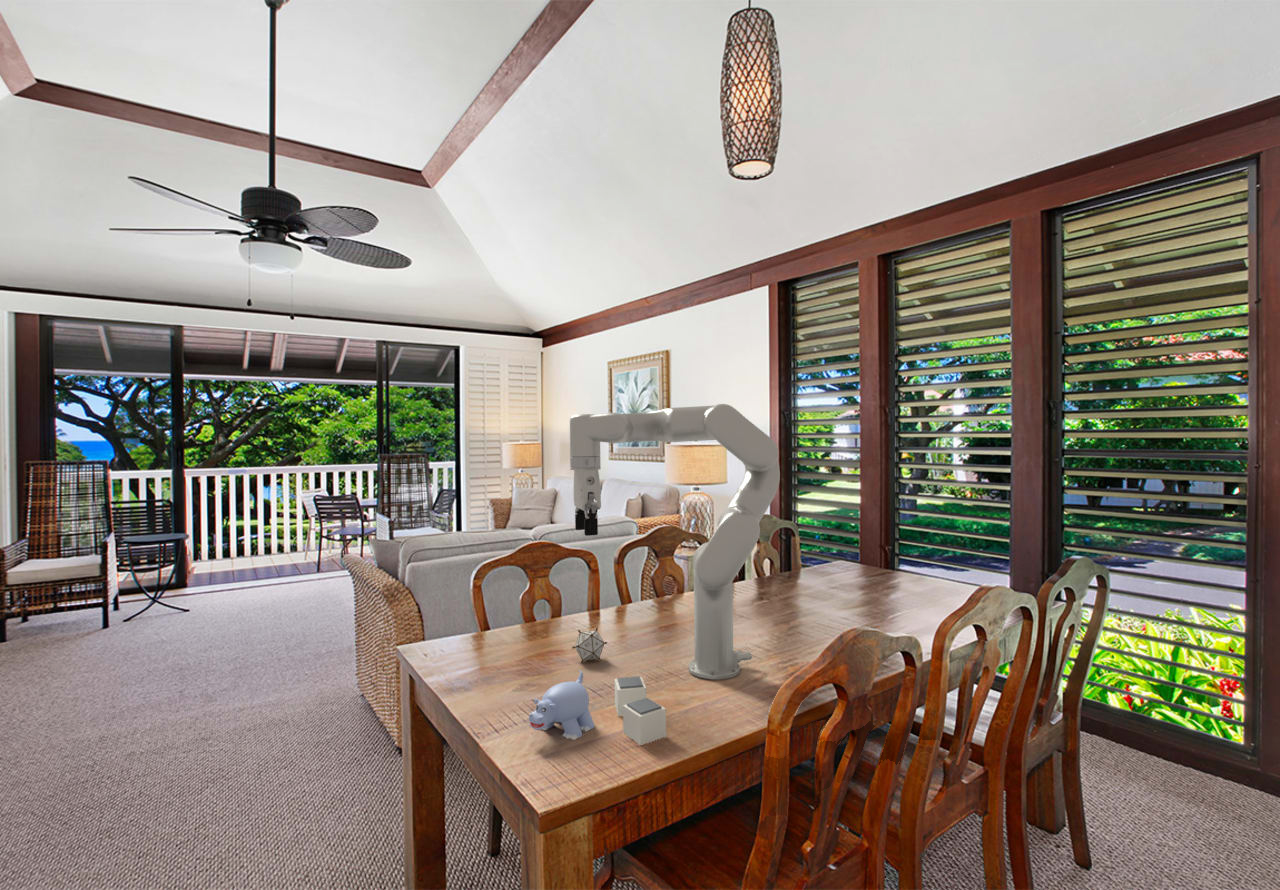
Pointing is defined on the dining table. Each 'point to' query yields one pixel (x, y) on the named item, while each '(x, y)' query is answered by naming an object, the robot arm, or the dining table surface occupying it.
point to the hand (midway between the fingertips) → (586, 532)
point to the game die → (589, 645)
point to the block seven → (644, 721)
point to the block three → (628, 691)
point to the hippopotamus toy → (564, 709)
